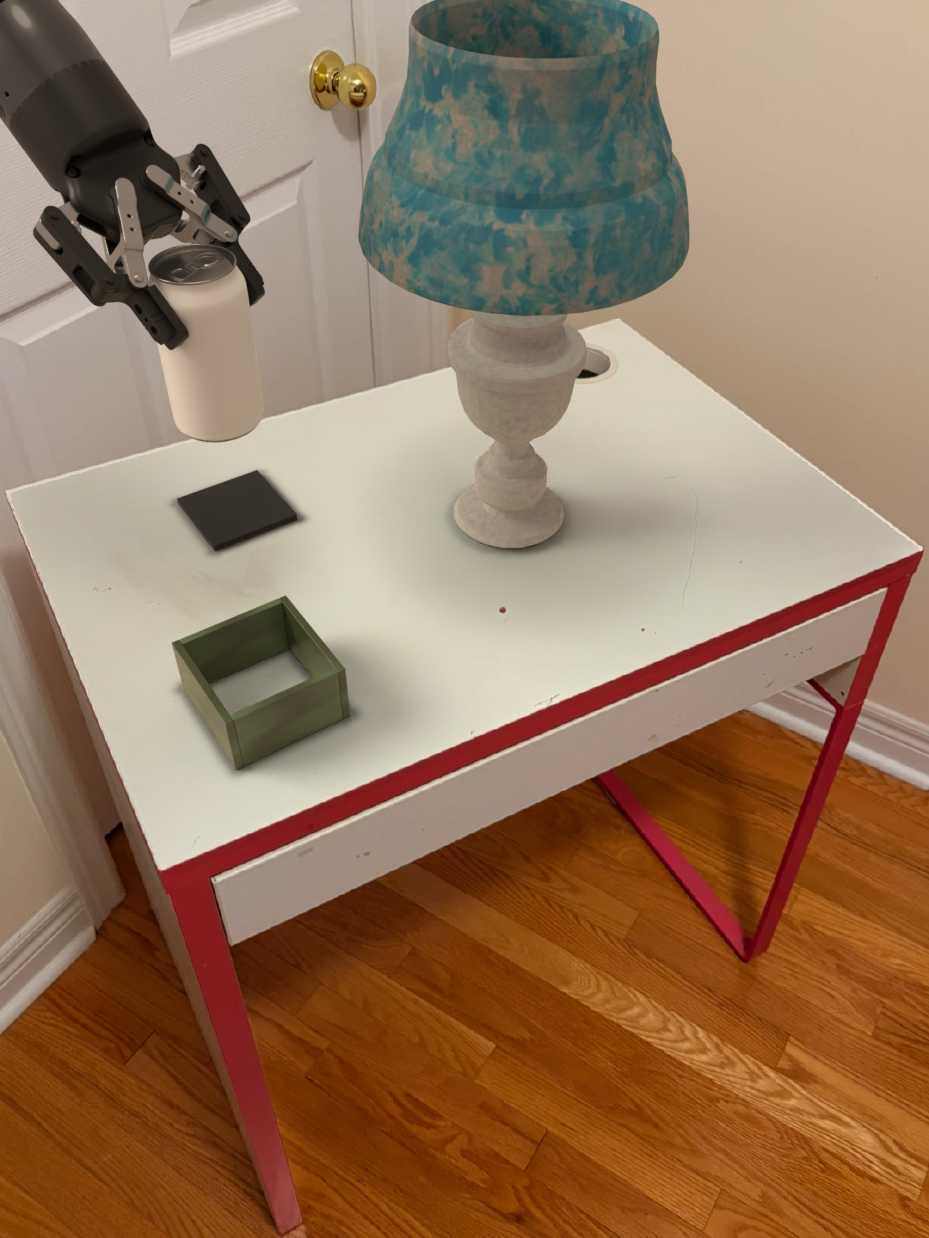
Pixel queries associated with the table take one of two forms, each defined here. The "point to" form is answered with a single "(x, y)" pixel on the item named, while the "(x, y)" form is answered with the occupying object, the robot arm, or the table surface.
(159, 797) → the table surface
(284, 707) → the caddy
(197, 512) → the mat
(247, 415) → the can
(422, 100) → the table lamp
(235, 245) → the robot arm
